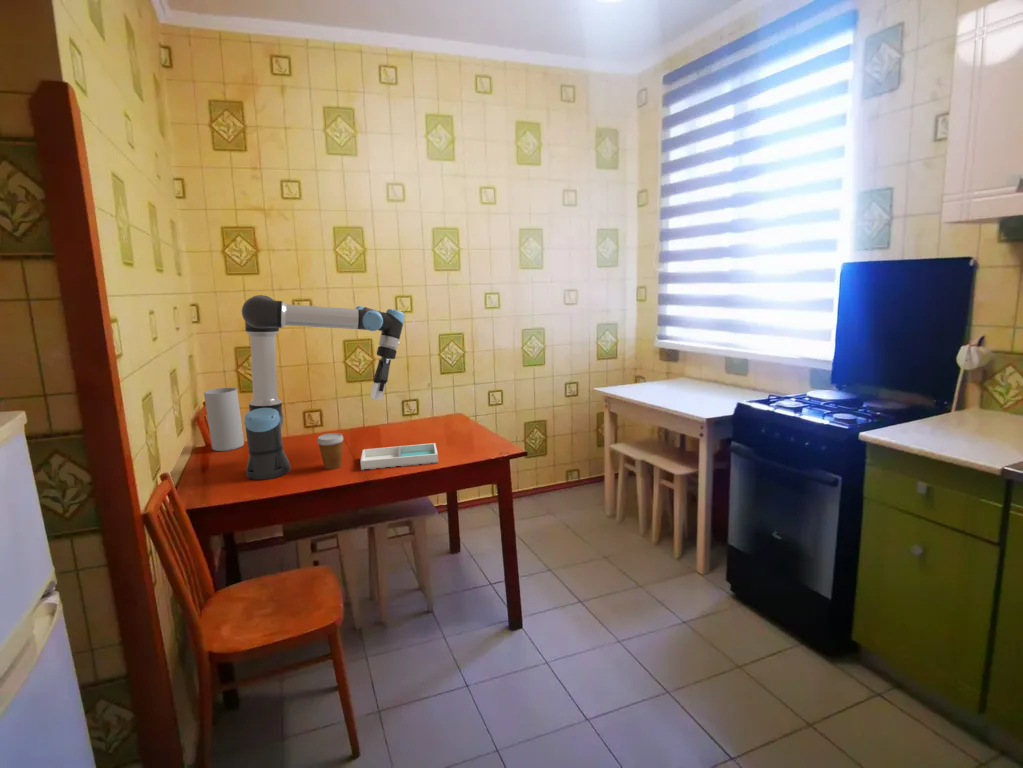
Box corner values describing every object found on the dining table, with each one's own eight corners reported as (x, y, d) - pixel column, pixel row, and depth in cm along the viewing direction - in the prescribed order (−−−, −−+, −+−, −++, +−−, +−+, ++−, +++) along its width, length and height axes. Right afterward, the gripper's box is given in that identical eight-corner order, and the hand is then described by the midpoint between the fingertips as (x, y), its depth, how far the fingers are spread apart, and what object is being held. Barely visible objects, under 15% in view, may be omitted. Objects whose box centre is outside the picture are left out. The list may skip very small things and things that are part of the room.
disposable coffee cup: (338, 471, 206) (335, 440, 204) (315, 470, 208) (311, 439, 206) (350, 463, 215) (347, 433, 213) (328, 462, 217) (325, 432, 215)
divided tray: (361, 470, 207) (360, 461, 206) (363, 457, 221) (362, 449, 220) (438, 462, 212) (437, 454, 211) (435, 451, 226) (435, 443, 225)
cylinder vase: (235, 451, 235) (227, 393, 230) (206, 452, 235) (197, 394, 231) (249, 442, 247) (242, 387, 242) (222, 443, 248) (214, 388, 243)
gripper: (402, 348, 215) (390, 402, 214) (391, 351, 239) (380, 400, 237) (383, 343, 213) (370, 397, 211) (374, 347, 236) (362, 396, 234)
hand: (375, 399), depth 224 cm, fingers open, 13 cm apart
